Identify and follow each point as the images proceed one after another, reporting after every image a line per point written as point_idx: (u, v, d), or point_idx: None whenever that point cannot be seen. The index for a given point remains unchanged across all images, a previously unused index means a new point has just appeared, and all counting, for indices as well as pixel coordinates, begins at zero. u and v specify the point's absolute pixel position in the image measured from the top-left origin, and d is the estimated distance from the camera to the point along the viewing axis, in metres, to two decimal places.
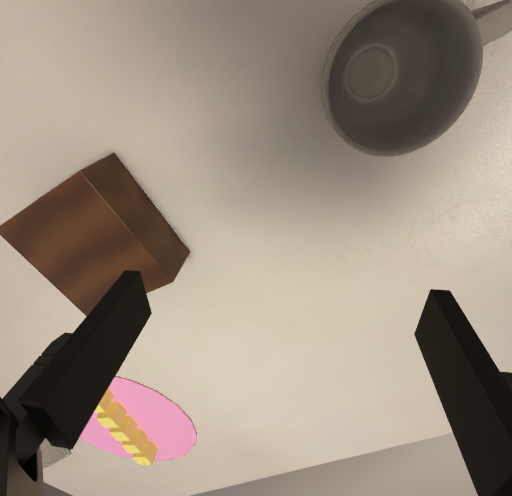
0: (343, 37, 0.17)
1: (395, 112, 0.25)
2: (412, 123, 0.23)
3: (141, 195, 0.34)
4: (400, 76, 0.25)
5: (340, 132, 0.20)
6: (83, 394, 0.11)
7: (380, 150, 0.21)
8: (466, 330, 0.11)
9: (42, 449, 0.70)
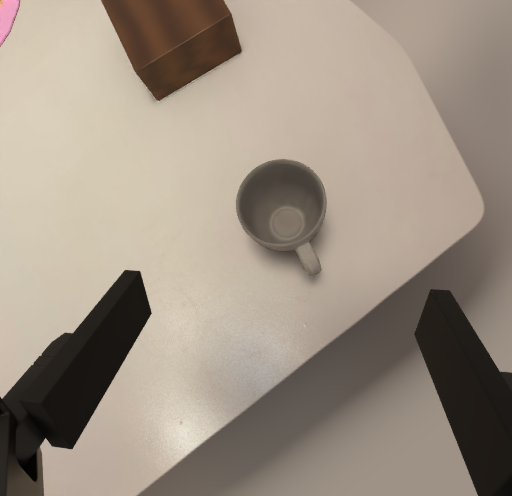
0: (304, 166, 0.30)
1: (262, 234, 0.36)
2: (255, 235, 0.34)
3: (209, 65, 0.43)
4: (284, 241, 0.38)
5: (252, 172, 0.31)
6: (83, 394, 0.11)
7: (239, 201, 0.31)
8: (466, 330, 0.11)
9: None
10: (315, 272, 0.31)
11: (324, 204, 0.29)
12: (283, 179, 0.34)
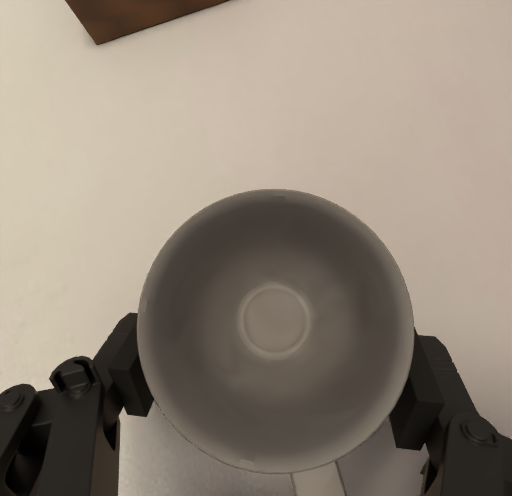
0: (362, 226, 0.10)
1: (216, 345, 0.16)
2: (193, 361, 0.13)
3: (194, 1, 0.24)
4: (262, 359, 0.18)
5: (210, 210, 0.11)
6: None
7: (157, 282, 0.11)
8: None
9: None
10: None
11: (407, 361, 0.09)
12: (288, 236, 0.15)
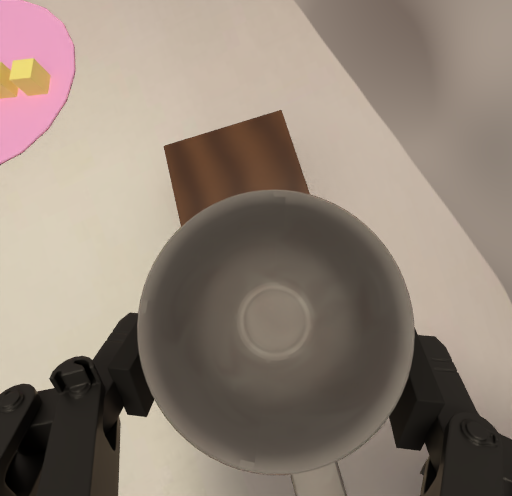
0: (362, 227, 0.10)
1: (216, 345, 0.16)
2: (193, 362, 0.13)
3: None
4: (262, 360, 0.18)
5: (211, 210, 0.11)
6: None
7: (157, 282, 0.11)
8: None
9: None
10: None
11: (408, 361, 0.09)
12: (288, 237, 0.15)
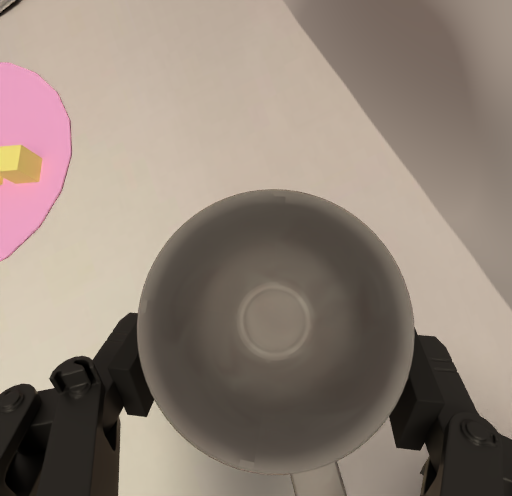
0: (362, 227, 0.10)
1: (216, 345, 0.16)
2: (192, 362, 0.13)
3: None
4: (262, 360, 0.18)
5: (210, 210, 0.11)
6: None
7: (157, 282, 0.11)
8: None
9: None
10: None
11: (408, 361, 0.09)
12: (288, 237, 0.15)
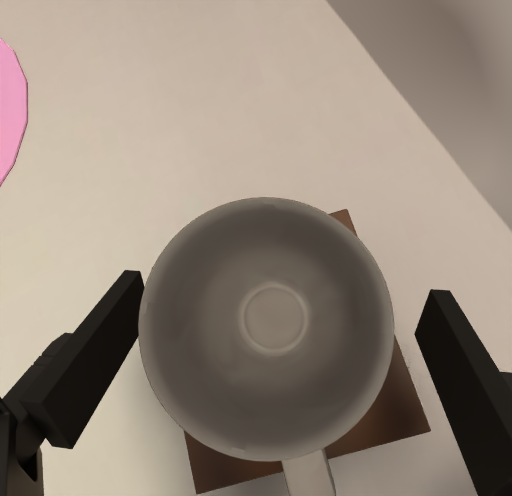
0: (346, 232, 0.11)
1: (217, 342, 0.17)
2: (193, 358, 0.14)
3: None
4: (262, 355, 0.19)
5: (205, 218, 0.11)
6: (83, 394, 0.11)
7: (156, 285, 0.11)
8: (466, 330, 0.11)
9: None
10: None
11: (387, 358, 0.10)
12: (283, 239, 0.15)
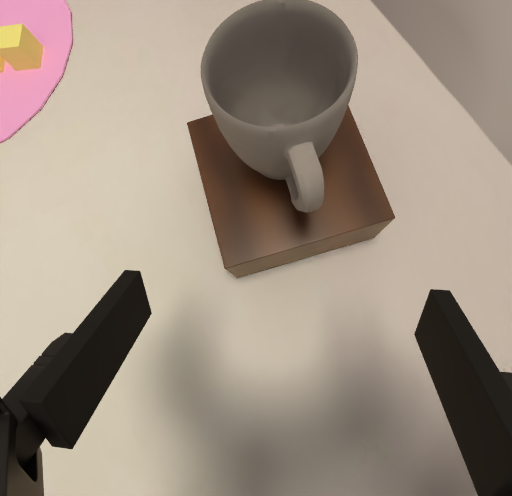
0: (330, 13, 0.17)
1: None
2: None
3: (325, 250, 0.29)
4: None
5: (241, 12, 0.18)
6: (83, 394, 0.11)
7: (210, 54, 0.18)
8: (466, 330, 0.11)
9: None
10: (313, 198, 0.18)
11: (353, 74, 0.16)
12: (289, 63, 0.22)
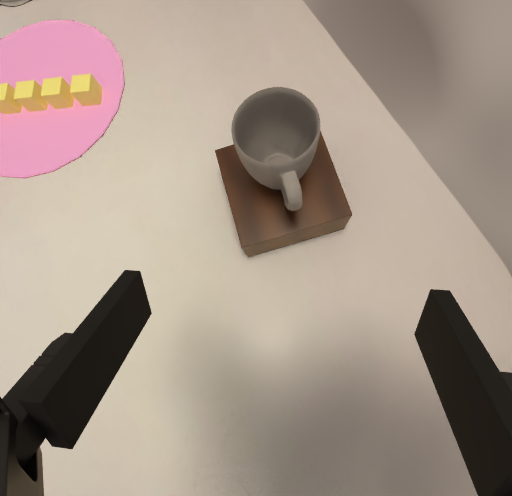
0: (305, 97, 0.31)
1: None
2: None
3: (309, 237, 0.42)
4: None
5: (254, 95, 0.31)
6: (83, 394, 0.11)
7: (236, 119, 0.31)
8: (466, 330, 0.11)
9: None
10: (295, 202, 0.31)
11: (317, 134, 0.29)
12: (283, 117, 0.35)
